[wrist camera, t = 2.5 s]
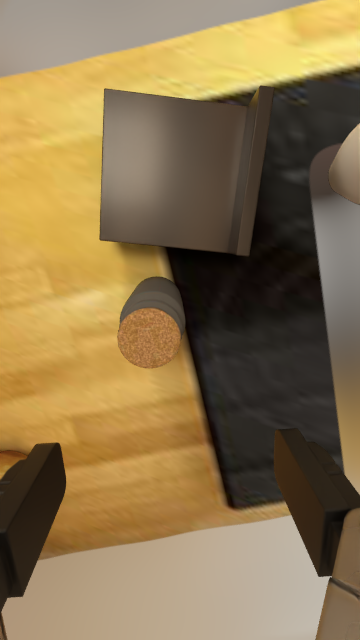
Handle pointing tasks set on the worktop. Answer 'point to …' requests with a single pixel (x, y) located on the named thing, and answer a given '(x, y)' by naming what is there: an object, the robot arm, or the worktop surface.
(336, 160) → the mug
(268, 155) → the worktop surface
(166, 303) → the bottle
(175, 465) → the worktop surface
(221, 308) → the worktop surface
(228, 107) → the dark brown legged piece
